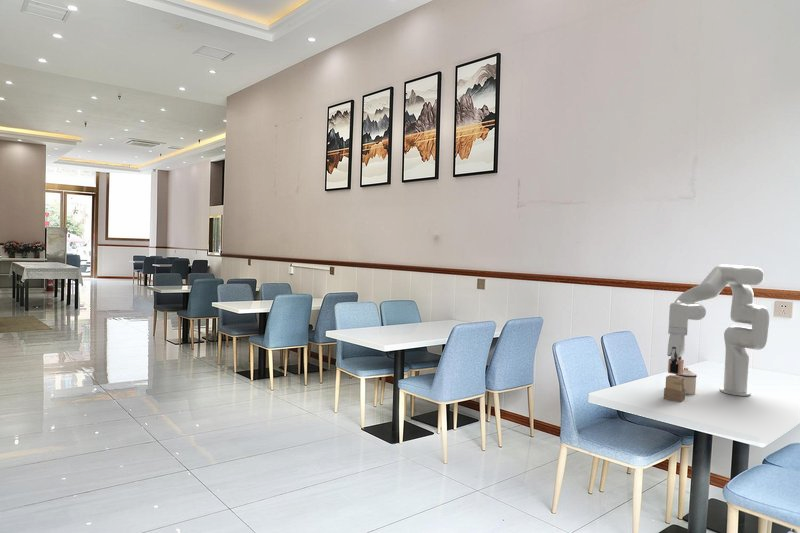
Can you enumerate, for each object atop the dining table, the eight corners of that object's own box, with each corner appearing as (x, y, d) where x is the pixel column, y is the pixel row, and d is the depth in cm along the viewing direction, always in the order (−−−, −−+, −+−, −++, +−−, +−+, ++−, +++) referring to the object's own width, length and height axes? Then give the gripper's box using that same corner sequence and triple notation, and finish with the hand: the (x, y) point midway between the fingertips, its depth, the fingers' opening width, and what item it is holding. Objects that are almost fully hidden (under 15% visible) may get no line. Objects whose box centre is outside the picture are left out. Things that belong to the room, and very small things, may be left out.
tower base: (667, 396, 249) (668, 385, 249) (684, 399, 245) (685, 388, 245) (663, 399, 244) (664, 388, 244) (681, 402, 239) (681, 391, 239)
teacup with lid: (697, 392, 259) (698, 367, 259) (693, 396, 252) (695, 370, 251) (669, 388, 266) (670, 363, 266) (665, 391, 259) (666, 366, 259)
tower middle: (669, 386, 248) (670, 374, 248) (684, 388, 244) (684, 377, 244) (665, 388, 244) (666, 376, 244) (680, 390, 240) (680, 379, 240)
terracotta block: (670, 371, 248) (671, 358, 247) (682, 373, 244) (683, 359, 244) (667, 372, 244) (668, 359, 243) (680, 374, 240) (681, 361, 240)
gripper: (673, 328, 253) (671, 368, 253) (663, 331, 239) (661, 373, 240) (691, 330, 248) (689, 370, 248) (682, 333, 235) (680, 376, 235)
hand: (675, 371), depth 244 cm, fingers closed on terracotta block, 5 cm apart
